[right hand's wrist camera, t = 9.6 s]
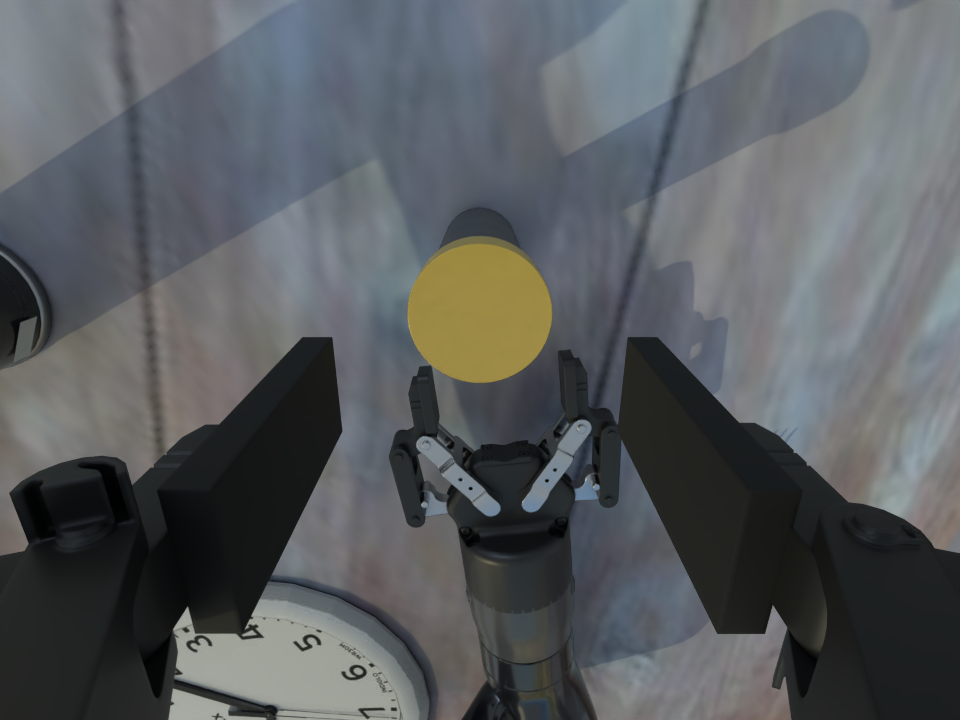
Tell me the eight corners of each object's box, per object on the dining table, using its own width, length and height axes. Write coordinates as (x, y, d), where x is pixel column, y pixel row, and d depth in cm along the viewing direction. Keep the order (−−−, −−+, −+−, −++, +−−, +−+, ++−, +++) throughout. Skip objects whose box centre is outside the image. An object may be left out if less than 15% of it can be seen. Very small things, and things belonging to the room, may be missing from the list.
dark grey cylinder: (530, 237, 35) (567, 301, 20) (486, 293, 36) (491, 392, 21) (472, 192, 34) (467, 224, 19) (430, 251, 35) (394, 324, 20)
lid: (574, 290, 21) (582, 303, 20) (492, 388, 23) (493, 408, 21) (466, 206, 20) (464, 211, 18) (387, 315, 22) (379, 330, 20)
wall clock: (487, 756, 51) (244, 849, 57) (487, 739, 53) (250, 831, 58) (296, 540, 42) (26, 677, 47) (303, 526, 43) (41, 660, 49)
